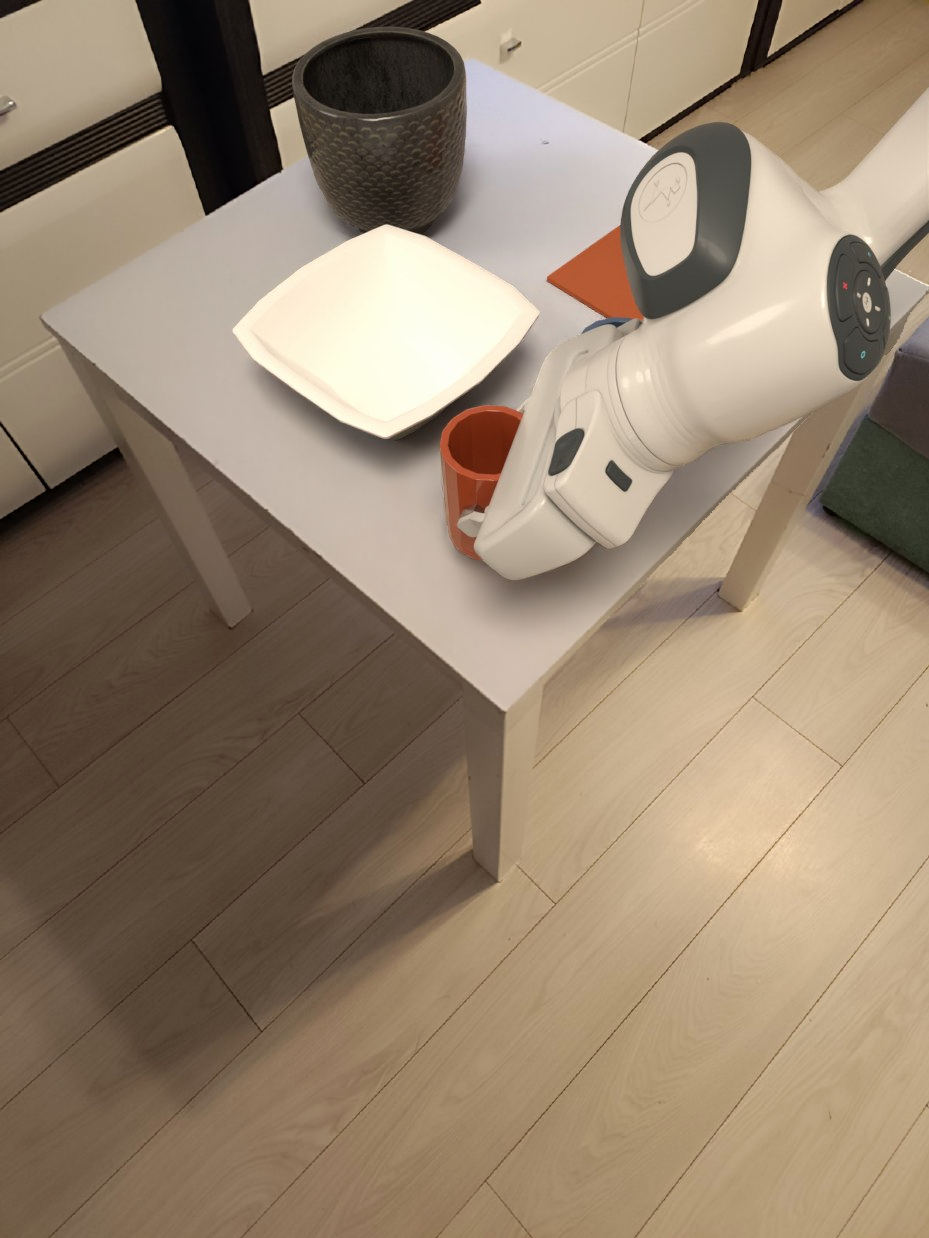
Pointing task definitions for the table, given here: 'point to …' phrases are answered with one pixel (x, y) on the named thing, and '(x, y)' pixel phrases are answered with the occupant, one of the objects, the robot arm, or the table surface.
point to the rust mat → (599, 279)
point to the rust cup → (474, 463)
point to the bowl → (386, 330)
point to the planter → (384, 124)
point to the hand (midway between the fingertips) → (482, 481)
